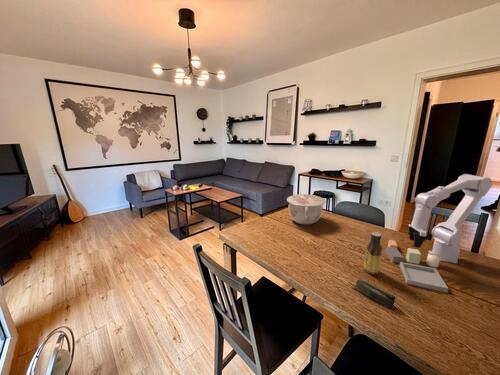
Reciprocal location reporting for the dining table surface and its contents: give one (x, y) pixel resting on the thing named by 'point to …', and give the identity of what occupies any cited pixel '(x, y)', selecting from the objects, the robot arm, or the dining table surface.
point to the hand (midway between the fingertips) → (414, 243)
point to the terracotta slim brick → (392, 243)
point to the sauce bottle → (373, 254)
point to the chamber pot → (305, 208)
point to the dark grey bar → (375, 293)
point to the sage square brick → (413, 256)
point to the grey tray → (423, 277)
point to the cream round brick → (433, 260)
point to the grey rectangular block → (394, 254)
